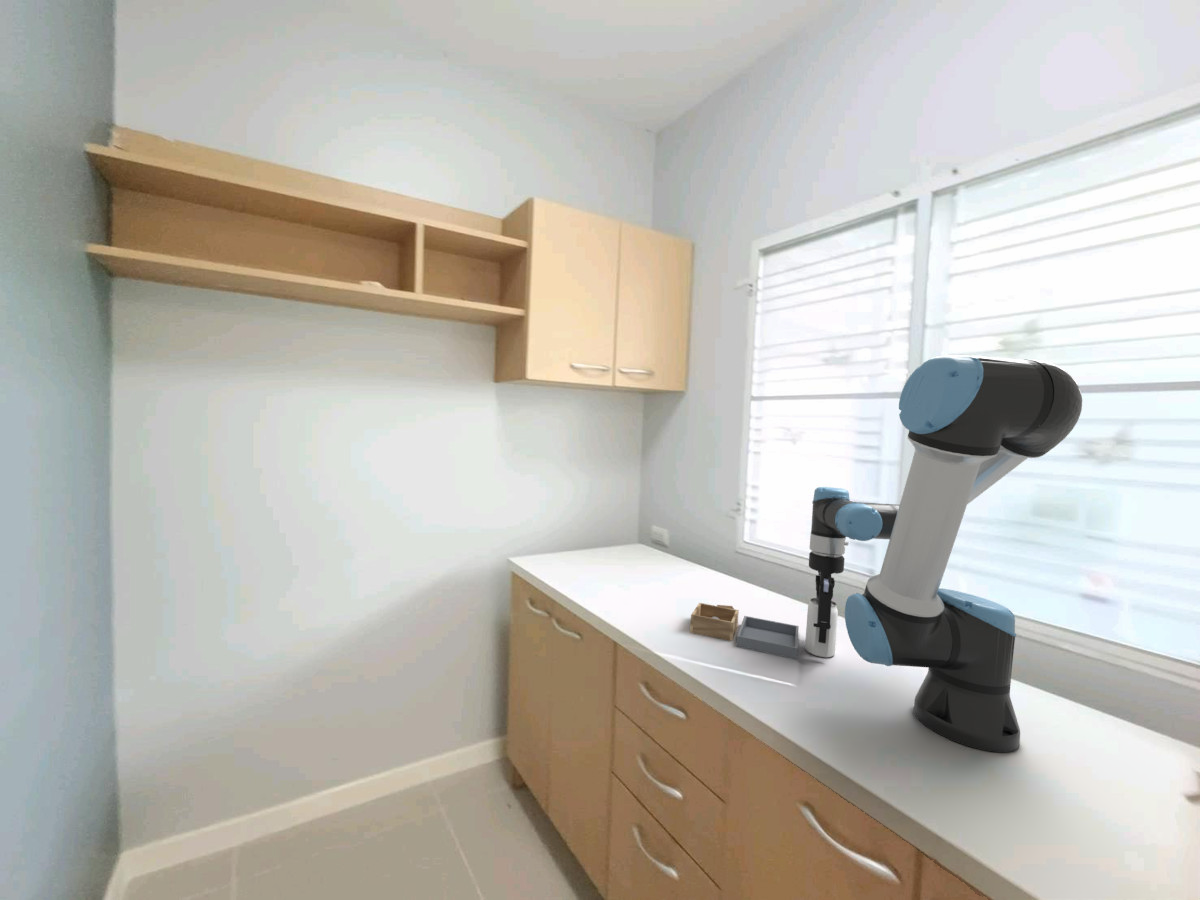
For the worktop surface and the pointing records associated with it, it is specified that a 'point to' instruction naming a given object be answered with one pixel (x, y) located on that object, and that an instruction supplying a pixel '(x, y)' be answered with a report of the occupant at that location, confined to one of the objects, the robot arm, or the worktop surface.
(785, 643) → the grey tray
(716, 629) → the oak bin
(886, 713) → the worktop surface
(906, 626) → the robot arm
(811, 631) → the can
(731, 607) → the walnut block
